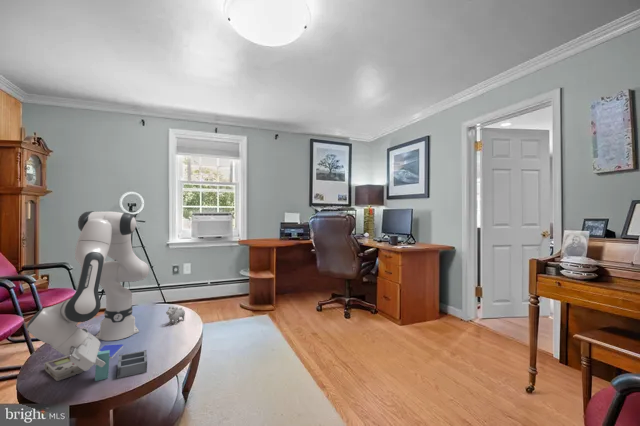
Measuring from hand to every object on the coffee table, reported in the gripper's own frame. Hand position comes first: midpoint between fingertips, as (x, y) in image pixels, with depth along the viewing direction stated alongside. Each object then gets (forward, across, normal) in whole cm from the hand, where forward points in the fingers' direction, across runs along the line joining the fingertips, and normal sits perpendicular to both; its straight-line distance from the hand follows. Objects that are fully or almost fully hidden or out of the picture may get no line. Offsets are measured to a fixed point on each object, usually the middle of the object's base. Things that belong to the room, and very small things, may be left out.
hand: (104, 362), depth 112 cm
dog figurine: (+26, +50, -17) cm, 59 cm away
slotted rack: (+11, +3, -2) cm, 11 cm away
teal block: (+4, 0, +5) cm, 6 cm away
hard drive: (+4, +24, +5) cm, 25 cm away
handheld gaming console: (-5, +13, +14) cm, 20 cm away
